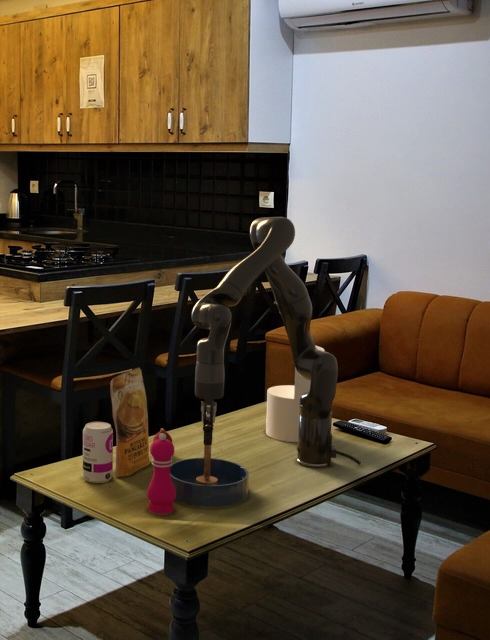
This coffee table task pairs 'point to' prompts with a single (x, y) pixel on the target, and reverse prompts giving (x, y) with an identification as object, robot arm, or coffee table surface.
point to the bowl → (223, 494)
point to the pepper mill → (161, 477)
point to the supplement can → (97, 452)
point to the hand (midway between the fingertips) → (207, 443)
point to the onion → (164, 433)
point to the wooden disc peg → (207, 468)
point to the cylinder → (285, 408)
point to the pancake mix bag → (130, 422)
